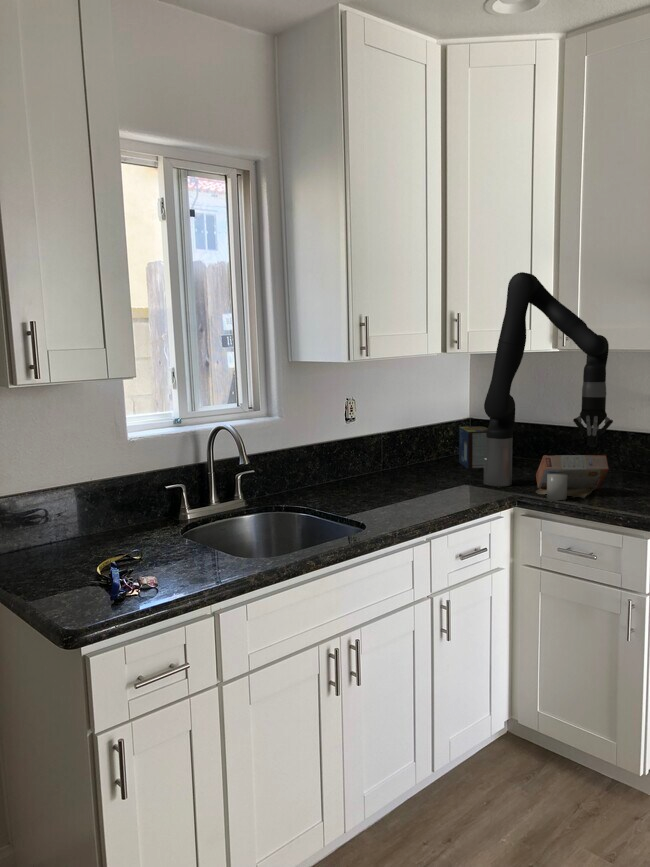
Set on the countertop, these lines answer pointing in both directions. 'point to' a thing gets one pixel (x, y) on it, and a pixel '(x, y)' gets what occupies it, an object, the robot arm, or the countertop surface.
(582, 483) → the cracker box
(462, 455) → the protein box
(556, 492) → the white rounded dome
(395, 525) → the countertop surface
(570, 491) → the maple board
